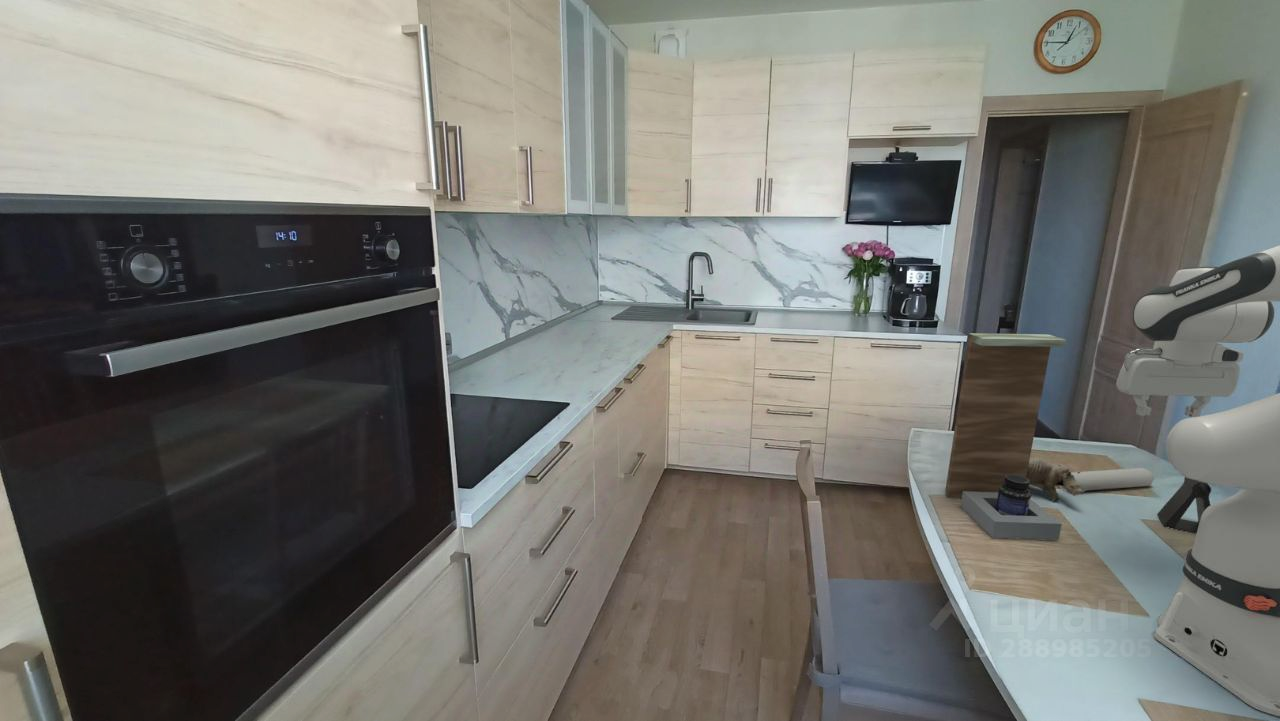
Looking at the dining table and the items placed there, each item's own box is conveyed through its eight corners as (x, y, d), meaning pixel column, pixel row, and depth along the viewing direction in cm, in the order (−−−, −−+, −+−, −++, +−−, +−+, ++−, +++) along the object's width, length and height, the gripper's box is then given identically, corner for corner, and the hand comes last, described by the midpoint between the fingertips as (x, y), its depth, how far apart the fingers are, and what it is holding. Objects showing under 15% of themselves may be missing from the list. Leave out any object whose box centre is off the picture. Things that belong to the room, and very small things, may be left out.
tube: (1137, 465, 151) (1056, 470, 147) (1158, 467, 146) (1075, 473, 142) (1139, 485, 151) (1058, 491, 147) (1160, 488, 146) (1076, 494, 142)
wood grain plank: (1033, 508, 136) (1065, 339, 126) (956, 506, 137) (982, 338, 127) (1018, 496, 142) (1048, 334, 131) (944, 494, 143) (969, 333, 132)
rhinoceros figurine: (1001, 467, 153) (1046, 435, 142) (1045, 508, 147) (1095, 478, 137) (990, 477, 148) (1036, 445, 138) (1035, 521, 142) (1086, 491, 132)
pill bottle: (1029, 531, 126) (1038, 486, 123) (999, 527, 127) (1007, 483, 125) (1017, 517, 132) (1026, 474, 129) (989, 514, 133) (997, 471, 130)
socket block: (1058, 540, 122) (1061, 523, 121) (991, 538, 123) (994, 521, 122) (1020, 508, 136) (1023, 493, 135) (960, 506, 137) (962, 491, 136)
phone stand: (1208, 525, 129) (1222, 477, 126) (1217, 538, 124) (1231, 488, 121) (1156, 515, 133) (1168, 468, 130) (1163, 526, 128) (1175, 478, 125)
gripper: (1141, 351, 108) (1125, 419, 112) (1253, 353, 107) (1234, 422, 111) (1116, 344, 115) (1102, 409, 118) (1222, 346, 113) (1205, 411, 117)
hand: (1167, 415), depth 114 cm, fingers open, 8 cm apart
